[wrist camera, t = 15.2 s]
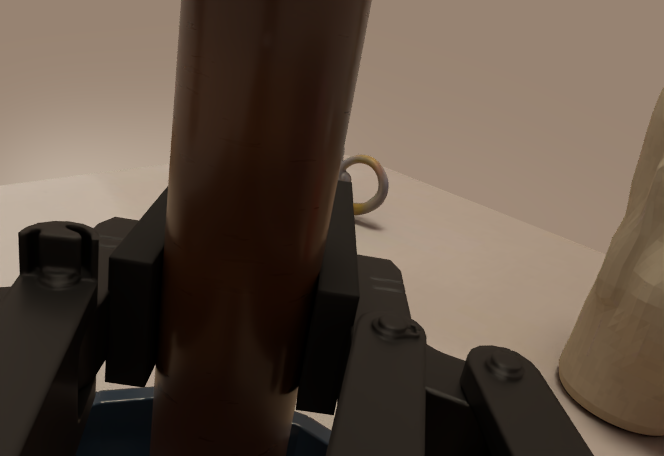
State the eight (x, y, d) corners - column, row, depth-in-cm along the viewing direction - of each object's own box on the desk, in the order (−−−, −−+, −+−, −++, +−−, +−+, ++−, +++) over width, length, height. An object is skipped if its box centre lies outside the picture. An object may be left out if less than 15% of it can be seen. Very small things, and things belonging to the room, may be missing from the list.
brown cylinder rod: (108, 742, 13) (145, -67, 7) (107, 560, 16) (130, -65, 10) (299, 687, 14) (472, -2, 8) (259, 532, 18) (357, -20, 12)
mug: (242, 194, 52) (251, 121, 50) (289, 181, 58) (299, 114, 55) (355, 242, 47) (371, 163, 44) (394, 222, 52) (411, 151, 50)
